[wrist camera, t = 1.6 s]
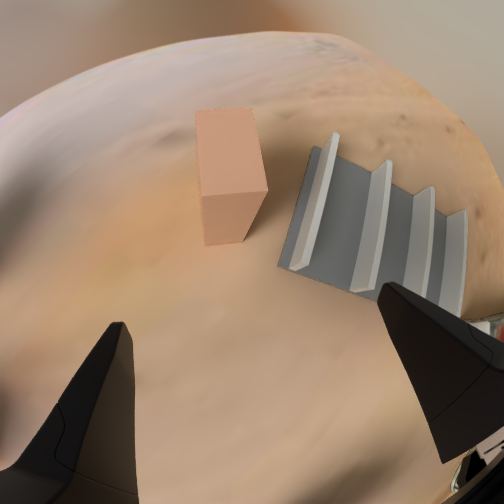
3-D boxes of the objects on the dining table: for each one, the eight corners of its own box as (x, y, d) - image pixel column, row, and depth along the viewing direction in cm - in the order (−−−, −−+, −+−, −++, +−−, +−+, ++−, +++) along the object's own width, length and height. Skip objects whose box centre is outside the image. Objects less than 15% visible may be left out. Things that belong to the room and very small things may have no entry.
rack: (439, 323, 24) (463, 323, 20) (277, 266, 22) (289, 258, 19) (450, 223, 26) (471, 214, 23) (312, 148, 25) (325, 128, 22)
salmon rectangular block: (242, 242, 22) (268, 190, 12) (204, 246, 22) (201, 196, 12) (234, 185, 23) (252, 108, 13) (198, 188, 22) (195, 110, 13)
